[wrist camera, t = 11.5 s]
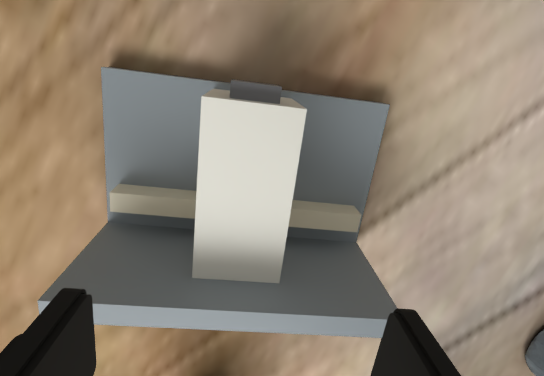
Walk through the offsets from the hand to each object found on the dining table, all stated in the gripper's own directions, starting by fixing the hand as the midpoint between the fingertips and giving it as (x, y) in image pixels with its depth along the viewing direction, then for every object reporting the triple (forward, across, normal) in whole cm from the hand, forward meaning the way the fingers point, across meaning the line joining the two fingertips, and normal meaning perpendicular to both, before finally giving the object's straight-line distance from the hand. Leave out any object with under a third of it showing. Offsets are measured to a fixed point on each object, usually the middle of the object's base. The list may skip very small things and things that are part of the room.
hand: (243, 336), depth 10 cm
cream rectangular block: (+18, 0, 0) cm, 18 cm away
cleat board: (+19, 0, +1) cm, 19 cm away
